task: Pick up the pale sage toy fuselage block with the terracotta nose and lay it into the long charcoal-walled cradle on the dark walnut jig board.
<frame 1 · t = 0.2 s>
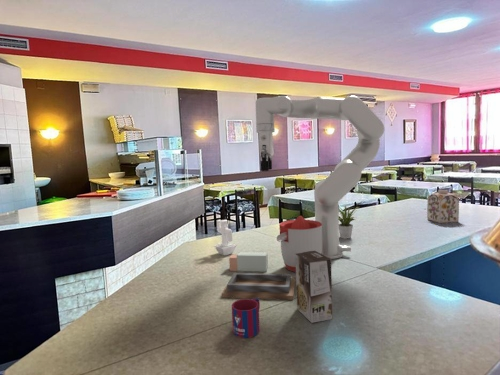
hand: (266, 170, 141), 36 cm above the countertop, tool pointing down, fingers open, 9 cm apart
citrus juicer: (299, 268, 126), on the countertop
figurine: (225, 253, 149), on the countertop
house plant: (347, 237, 168), on the countertop
decorative jar: (442, 221, 194), on the countertop
mug: (250, 328, 85), on the countertop
coffee box: (314, 314, 91), on the countertop
jig: (260, 288, 109), on the countertop
fuselage: (249, 269, 128), on the countertop
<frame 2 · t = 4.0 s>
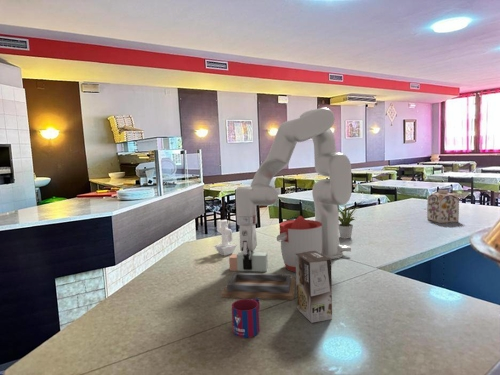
hand: (248, 266, 128), 1 cm above the countertop, tool pointing down, fingers closed on fuselage, 4 cm apart
fuselage: (248, 269, 128), on the countertop, touching gripper
everything else where it was.
when the fingers open (4 cm above the countertop, at t = 10.4 s): fuselage drops 2 cm, resting on jig.
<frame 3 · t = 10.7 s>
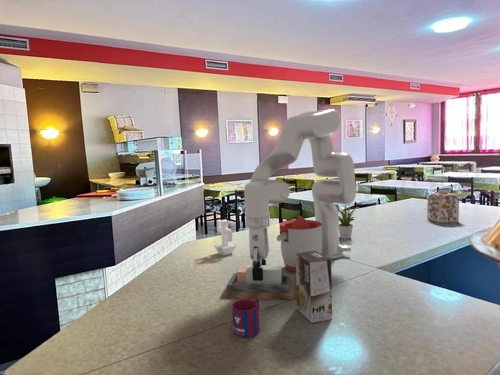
hand: (259, 275, 108), 5 cm above the countertop, tool pointing down, fingers open, 7 cm apart
fuselage: (259, 285, 109), point 1 cm above the countertop, touching jig
everything else where it was.
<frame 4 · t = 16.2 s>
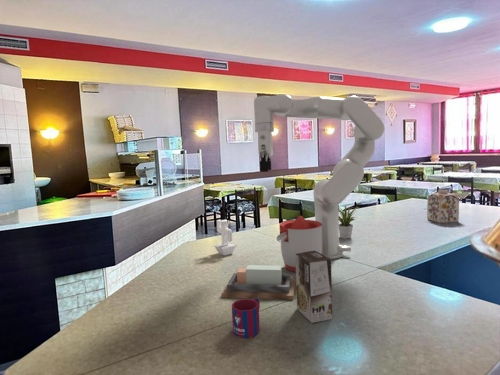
hand: (265, 170, 137), 36 cm above the countertop, tool pointing down, fingers open, 9 cm apart
nothing on the countertop moved.
at the end: fuselage 0.1 cm off-centre on the jig, point 1.2 cm above the jig's base; fuselage tilted 0°; the gripper is holding nothing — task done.
